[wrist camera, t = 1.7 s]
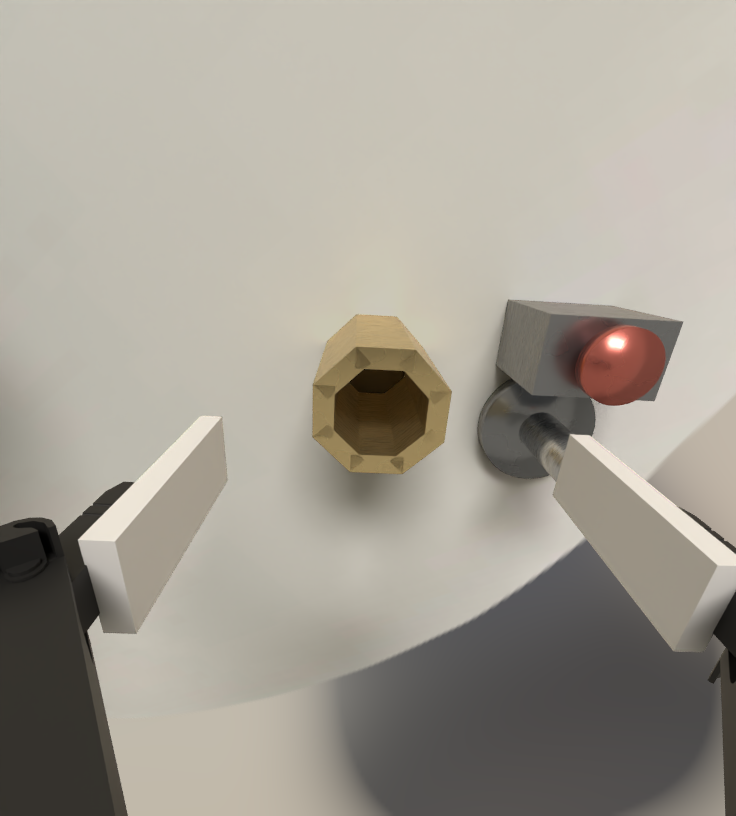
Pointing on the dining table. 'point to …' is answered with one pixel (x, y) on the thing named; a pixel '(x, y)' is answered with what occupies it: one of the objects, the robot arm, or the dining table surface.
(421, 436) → the tan octagonal tube
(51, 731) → the robot arm
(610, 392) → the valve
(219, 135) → the dining table surface
